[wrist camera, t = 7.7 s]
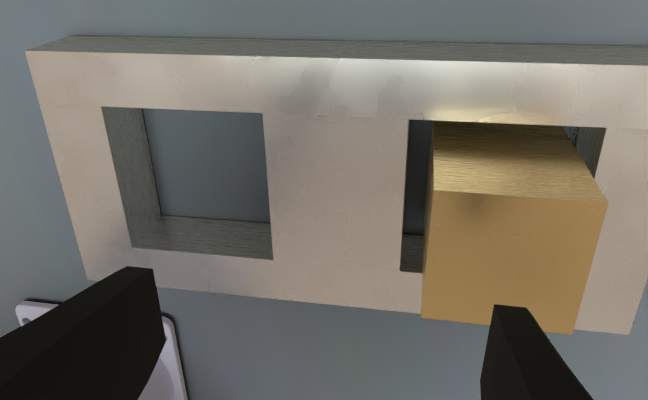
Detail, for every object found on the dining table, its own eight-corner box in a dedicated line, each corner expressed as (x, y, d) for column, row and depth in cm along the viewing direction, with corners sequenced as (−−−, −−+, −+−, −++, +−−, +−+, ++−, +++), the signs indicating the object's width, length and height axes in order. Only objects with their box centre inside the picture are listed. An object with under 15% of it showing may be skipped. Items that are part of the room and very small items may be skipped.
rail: (607, 289, 20) (628, 334, 18) (119, 246, 24) (87, 280, 21) (677, 47, 16) (715, 67, 14) (71, 35, 19) (24, 50, 17)
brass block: (535, 222, 20) (572, 334, 14) (424, 213, 20) (420, 317, 15) (556, 117, 18) (608, 203, 12) (433, 111, 18) (433, 190, 13)
